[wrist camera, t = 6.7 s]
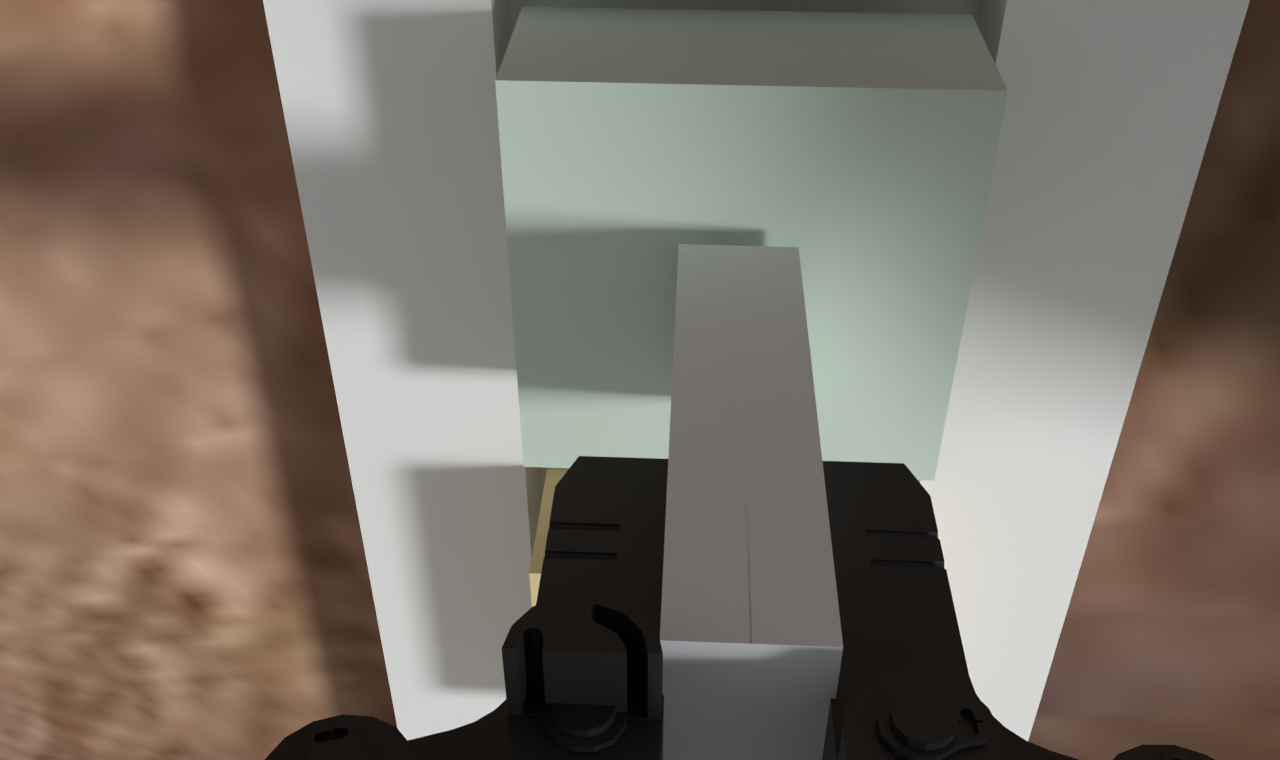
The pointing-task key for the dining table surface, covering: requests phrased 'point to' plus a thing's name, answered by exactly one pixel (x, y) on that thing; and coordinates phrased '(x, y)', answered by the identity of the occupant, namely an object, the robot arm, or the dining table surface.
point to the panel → (484, 336)
